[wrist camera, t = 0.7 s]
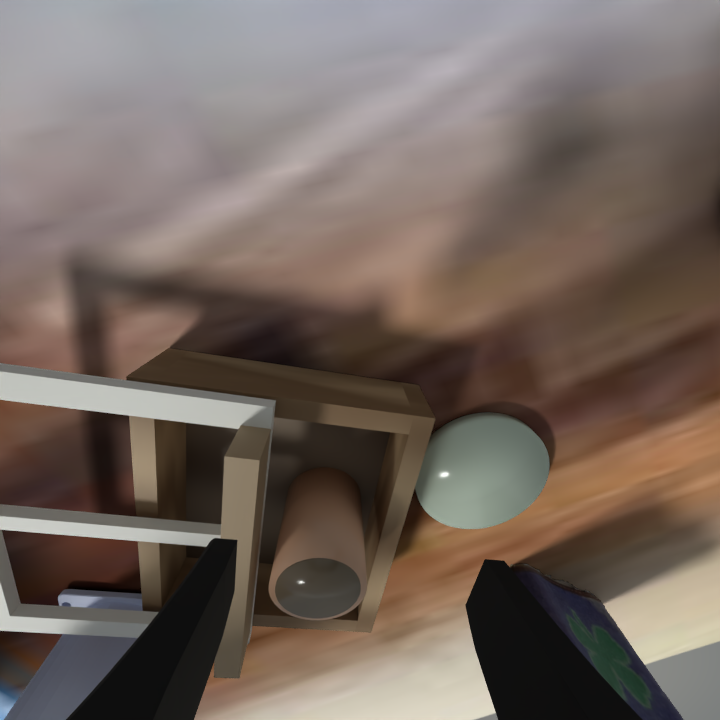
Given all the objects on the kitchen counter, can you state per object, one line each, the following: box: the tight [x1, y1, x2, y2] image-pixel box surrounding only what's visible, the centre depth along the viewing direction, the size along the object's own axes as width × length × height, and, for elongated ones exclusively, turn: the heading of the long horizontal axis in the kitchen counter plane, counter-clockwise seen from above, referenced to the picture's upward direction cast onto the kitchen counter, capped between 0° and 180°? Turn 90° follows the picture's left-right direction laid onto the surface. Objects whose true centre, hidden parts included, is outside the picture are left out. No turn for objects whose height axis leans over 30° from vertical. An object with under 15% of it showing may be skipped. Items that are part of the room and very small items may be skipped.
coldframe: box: [126, 348, 436, 633], centre depth 18 cm, size 15×13×4 cm
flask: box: [510, 564, 683, 720], centre depth 20 cm, size 9×3×11 cm, turn 58°
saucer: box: [415, 412, 550, 529], centre depth 20 cm, size 8×8×1 cm
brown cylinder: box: [269, 467, 367, 620], centre depth 17 cm, size 4×4×6 cm
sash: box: [0, 363, 276, 678], centre depth 14 cm, size 15×13×3 cm
